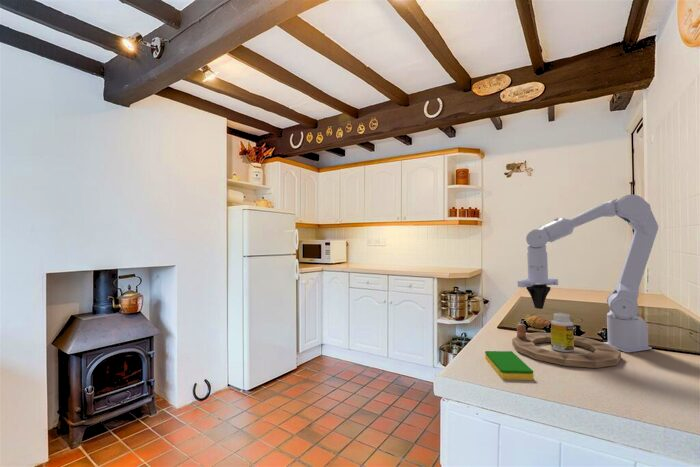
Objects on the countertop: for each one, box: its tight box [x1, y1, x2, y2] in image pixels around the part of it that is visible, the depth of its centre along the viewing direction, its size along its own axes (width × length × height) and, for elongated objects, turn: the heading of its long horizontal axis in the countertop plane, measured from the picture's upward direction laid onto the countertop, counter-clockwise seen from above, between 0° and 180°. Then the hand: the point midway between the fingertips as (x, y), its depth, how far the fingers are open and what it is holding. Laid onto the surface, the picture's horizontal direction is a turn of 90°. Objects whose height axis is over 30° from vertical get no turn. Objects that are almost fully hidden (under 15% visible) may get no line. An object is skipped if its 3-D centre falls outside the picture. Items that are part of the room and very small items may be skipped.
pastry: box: [523, 314, 551, 329], centre depth 121 cm, size 9×7×4 cm
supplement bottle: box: [550, 312, 575, 353], centre depth 96 cm, size 6×6×10 cm
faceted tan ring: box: [512, 323, 622, 369], centre depth 95 cm, size 25×25×6 cm
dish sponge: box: [484, 350, 534, 381], centre depth 84 cm, size 7×14×2 cm, turn 173°
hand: (538, 308), depth 109 cm, fingers closed
